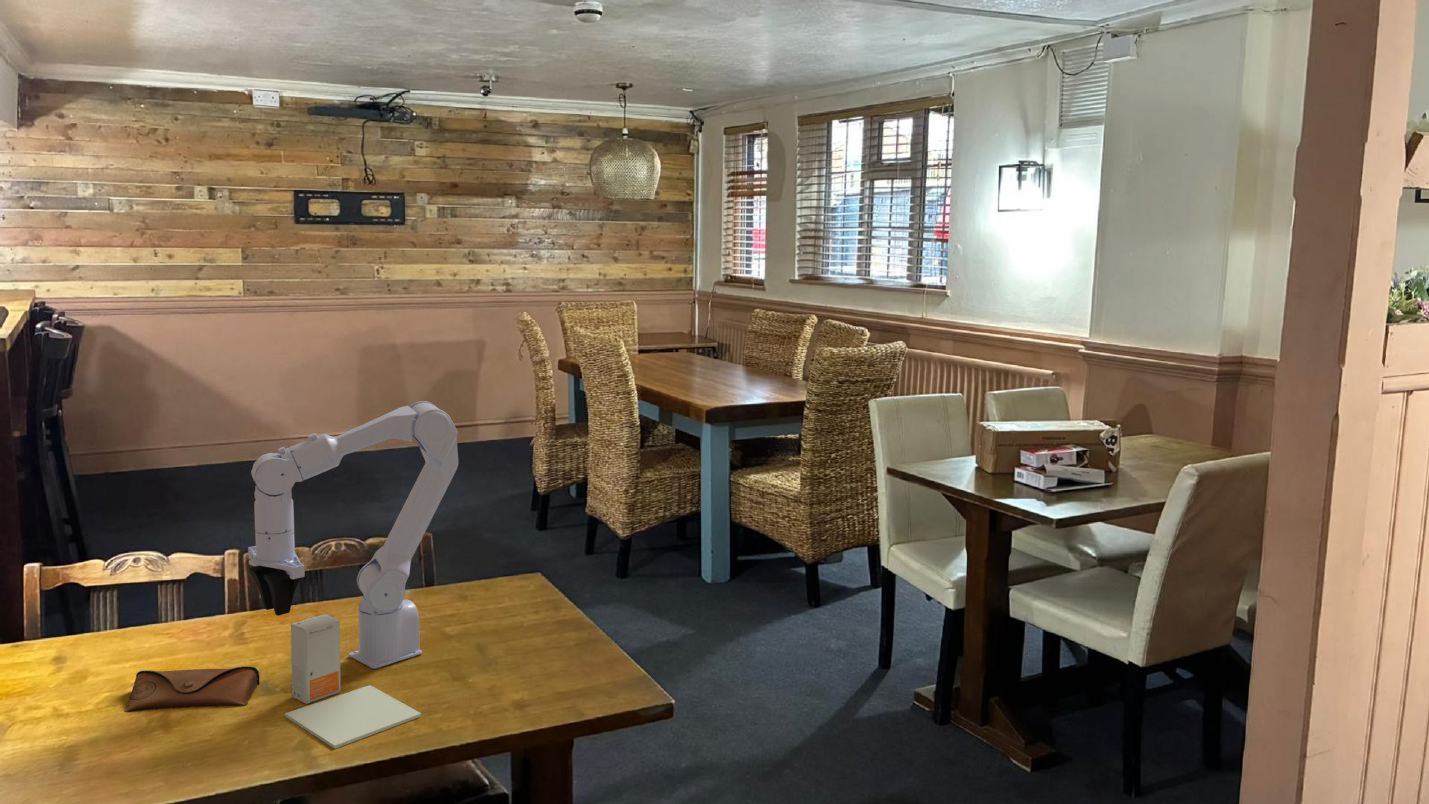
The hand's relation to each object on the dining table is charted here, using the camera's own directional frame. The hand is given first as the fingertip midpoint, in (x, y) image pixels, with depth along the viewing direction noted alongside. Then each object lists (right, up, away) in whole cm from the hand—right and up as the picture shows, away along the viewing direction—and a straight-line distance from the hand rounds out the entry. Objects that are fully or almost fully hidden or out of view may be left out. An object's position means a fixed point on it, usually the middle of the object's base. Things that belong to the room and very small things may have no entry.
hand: (277, 611), depth 169 cm
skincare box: (+9, -12, -6) cm, 16 cm away
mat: (+17, -13, -13) cm, 25 cm away
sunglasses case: (-10, -12, -8) cm, 18 cm away
